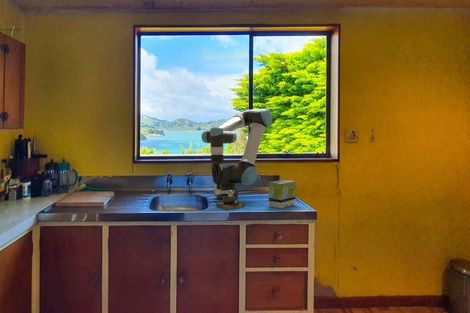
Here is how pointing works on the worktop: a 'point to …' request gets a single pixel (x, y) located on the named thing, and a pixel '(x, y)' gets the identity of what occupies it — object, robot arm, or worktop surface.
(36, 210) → the worktop surface
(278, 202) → the tea box
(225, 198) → the cam capstan
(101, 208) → the worktop surface
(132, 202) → the worktop surface
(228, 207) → the stand
